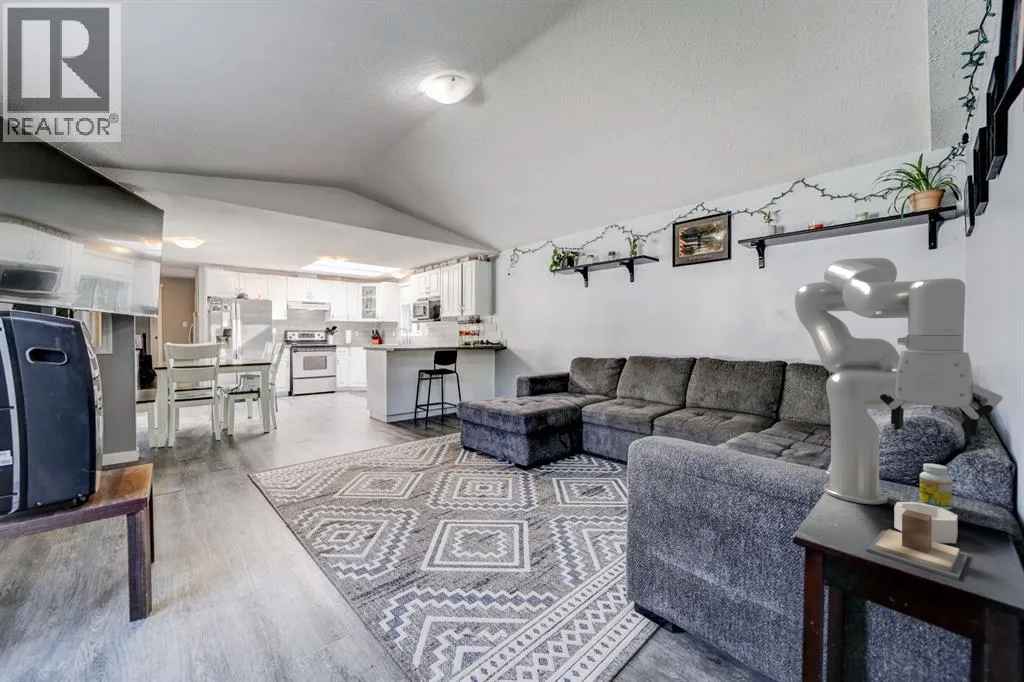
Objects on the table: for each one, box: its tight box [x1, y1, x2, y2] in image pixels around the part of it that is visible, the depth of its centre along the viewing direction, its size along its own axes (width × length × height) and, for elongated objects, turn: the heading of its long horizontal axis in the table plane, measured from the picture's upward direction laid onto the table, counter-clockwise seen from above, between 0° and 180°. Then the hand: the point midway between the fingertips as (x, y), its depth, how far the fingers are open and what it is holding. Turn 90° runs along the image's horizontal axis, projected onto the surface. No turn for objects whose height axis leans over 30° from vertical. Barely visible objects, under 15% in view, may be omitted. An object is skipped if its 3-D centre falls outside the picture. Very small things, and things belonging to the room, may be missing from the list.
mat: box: [866, 529, 969, 581], centre depth 79 cm, size 12×12×1 cm
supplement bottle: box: [919, 462, 953, 511], centre depth 100 cm, size 5×5×10 cm
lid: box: [875, 510, 960, 572], centre depth 79 cm, size 10×10×7 cm
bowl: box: [893, 501, 959, 544], centre depth 87 cm, size 9×9×4 cm
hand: (932, 433), depth 81 cm, fingers open, 9 cm apart
